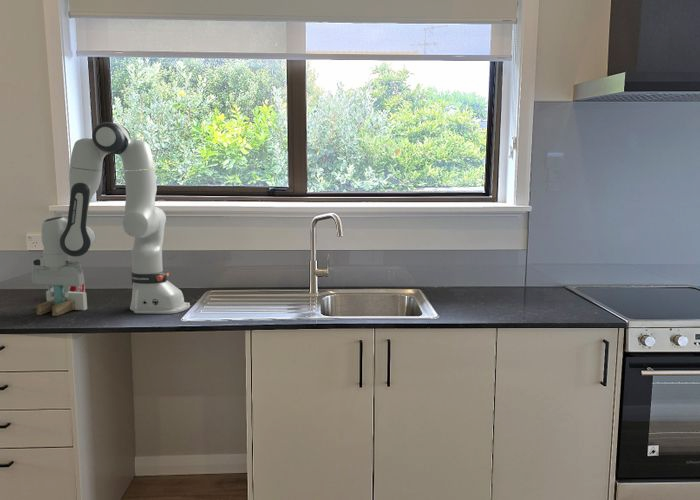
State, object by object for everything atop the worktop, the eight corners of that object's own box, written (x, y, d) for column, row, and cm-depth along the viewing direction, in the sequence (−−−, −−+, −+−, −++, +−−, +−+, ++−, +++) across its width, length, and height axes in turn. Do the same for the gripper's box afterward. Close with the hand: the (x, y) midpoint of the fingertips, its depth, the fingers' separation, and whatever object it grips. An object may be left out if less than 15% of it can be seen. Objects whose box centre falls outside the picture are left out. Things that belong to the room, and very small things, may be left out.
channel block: (74, 308, 234) (74, 300, 233) (56, 315, 224) (56, 306, 223) (55, 307, 236) (54, 298, 235) (36, 314, 226) (36, 305, 225)
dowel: (67, 309, 233) (65, 283, 232) (61, 311, 230) (59, 285, 228) (59, 308, 234) (57, 283, 232) (52, 310, 230) (51, 284, 229)
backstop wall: (87, 308, 235) (86, 292, 234) (84, 310, 233) (82, 293, 232) (50, 306, 238) (49, 290, 237) (47, 307, 237) (45, 291, 235)
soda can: (88, 295, 256) (86, 267, 254) (79, 299, 249) (77, 270, 248) (72, 295, 257) (70, 267, 255) (63, 299, 250) (61, 270, 248)
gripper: (86, 260, 230) (89, 296, 232) (39, 258, 234) (41, 293, 236) (75, 263, 224) (78, 300, 226) (27, 260, 228) (30, 297, 230)
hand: (59, 296), depth 231 cm, fingers closed on dowel, 4 cm apart
